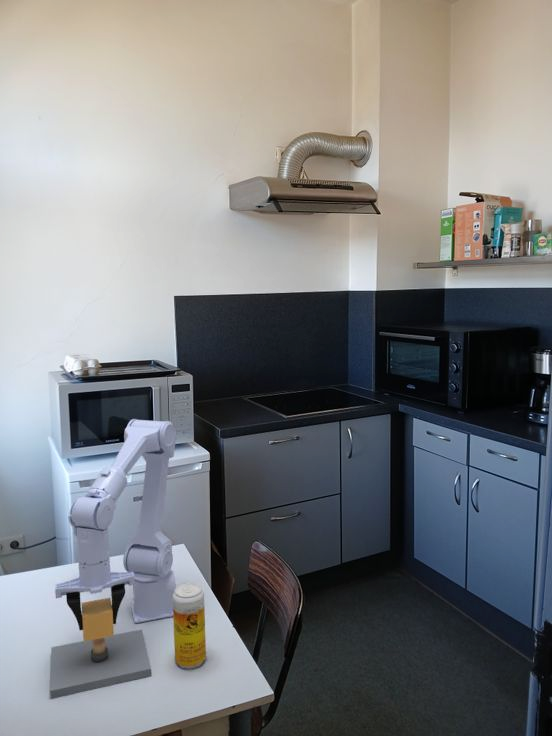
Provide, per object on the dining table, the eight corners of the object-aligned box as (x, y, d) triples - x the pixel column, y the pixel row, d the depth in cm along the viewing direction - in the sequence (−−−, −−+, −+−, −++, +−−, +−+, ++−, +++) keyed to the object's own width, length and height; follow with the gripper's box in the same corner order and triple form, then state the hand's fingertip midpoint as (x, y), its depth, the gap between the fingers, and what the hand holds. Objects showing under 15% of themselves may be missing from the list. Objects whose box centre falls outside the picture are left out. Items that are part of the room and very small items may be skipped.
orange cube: (111, 621, 120) (110, 597, 119) (113, 635, 115) (112, 611, 114) (82, 626, 118) (81, 602, 118) (83, 641, 113) (82, 616, 112)
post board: (142, 635, 127) (141, 614, 126) (151, 675, 114) (150, 651, 113) (51, 654, 121) (50, 631, 120) (50, 698, 108) (48, 673, 107)
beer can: (180, 674, 114) (178, 600, 112) (171, 656, 120) (168, 586, 118) (210, 664, 117) (208, 592, 115) (199, 648, 123) (197, 579, 120)
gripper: (53, 574, 108) (58, 643, 110) (134, 561, 113) (138, 627, 115) (53, 557, 115) (58, 623, 117) (130, 546, 120) (134, 609, 122)
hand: (97, 624), depth 116 cm, fingers closed on orange cube, 5 cm apart
